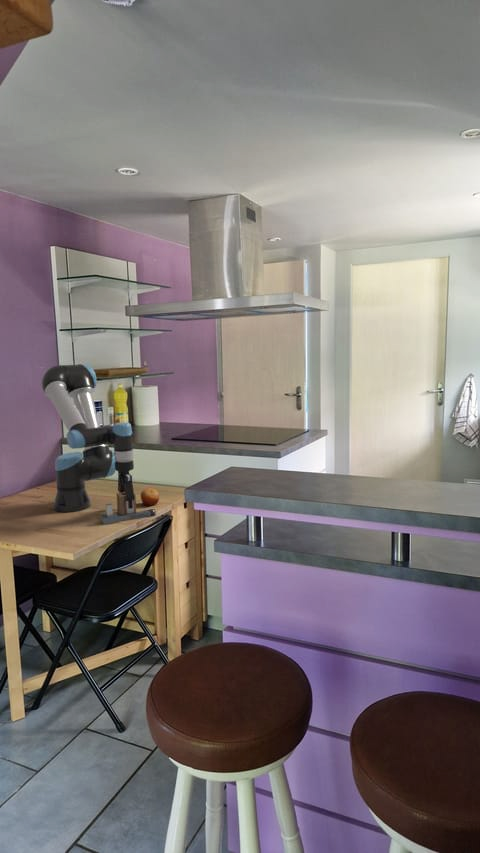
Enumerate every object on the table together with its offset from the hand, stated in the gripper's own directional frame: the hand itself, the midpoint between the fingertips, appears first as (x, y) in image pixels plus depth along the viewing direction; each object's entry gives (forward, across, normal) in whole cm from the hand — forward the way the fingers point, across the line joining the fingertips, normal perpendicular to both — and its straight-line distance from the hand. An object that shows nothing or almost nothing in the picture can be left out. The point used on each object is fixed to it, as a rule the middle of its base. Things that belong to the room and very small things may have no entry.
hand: (126, 512), depth 225 cm
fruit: (0, -7, +12) cm, 14 cm away
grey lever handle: (0, +9, -1) cm, 9 cm away
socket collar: (0, 0, 0) cm, 0 cm away
